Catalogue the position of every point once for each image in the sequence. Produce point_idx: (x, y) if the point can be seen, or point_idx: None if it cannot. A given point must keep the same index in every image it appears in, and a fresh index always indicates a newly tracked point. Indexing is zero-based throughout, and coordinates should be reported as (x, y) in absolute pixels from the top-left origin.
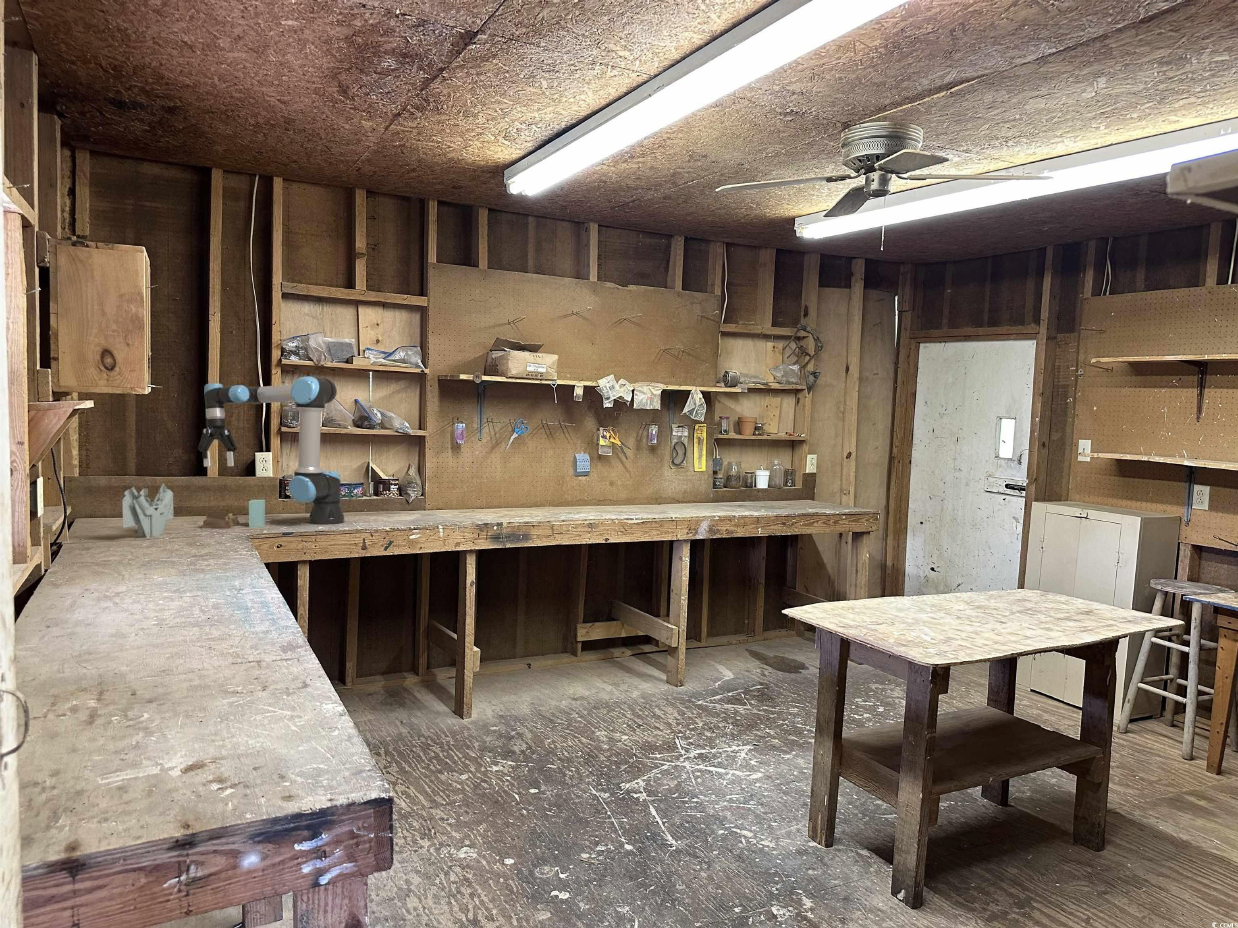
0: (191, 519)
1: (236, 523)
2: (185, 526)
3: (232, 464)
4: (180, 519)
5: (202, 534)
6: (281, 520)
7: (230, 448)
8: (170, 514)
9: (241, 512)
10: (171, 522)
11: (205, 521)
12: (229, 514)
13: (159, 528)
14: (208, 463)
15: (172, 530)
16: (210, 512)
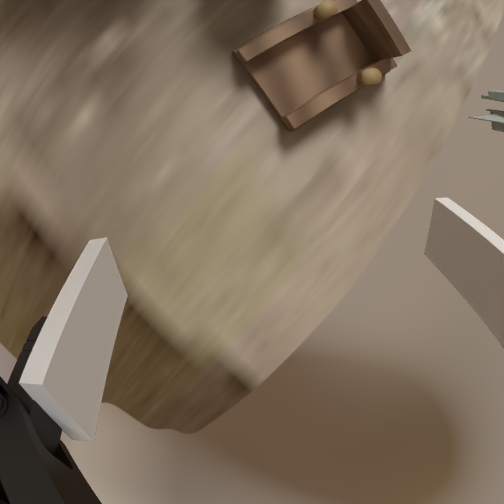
0: (245, 282)
1: (267, 31)
2: (376, 154)
3: (101, 246)
4: (264, 306)
5: (442, 5)
6: (87, 7)
7: (38, 446)
8: (485, 117)
9: (40, 303)
10: (328, 268)
11: (392, 59)
12: (335, 4)
13: (502, 91)
14: (461, 214)
15: (439, 123)
16: (402, 40)
